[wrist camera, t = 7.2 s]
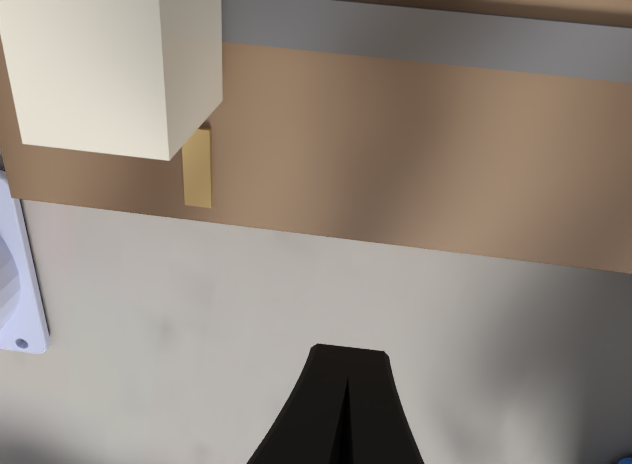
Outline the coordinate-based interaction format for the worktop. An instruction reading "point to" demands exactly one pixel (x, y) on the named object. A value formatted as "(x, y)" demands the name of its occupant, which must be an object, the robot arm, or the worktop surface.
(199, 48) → the fader tab
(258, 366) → the worktop surface
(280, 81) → the fader console
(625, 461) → the snack cup
